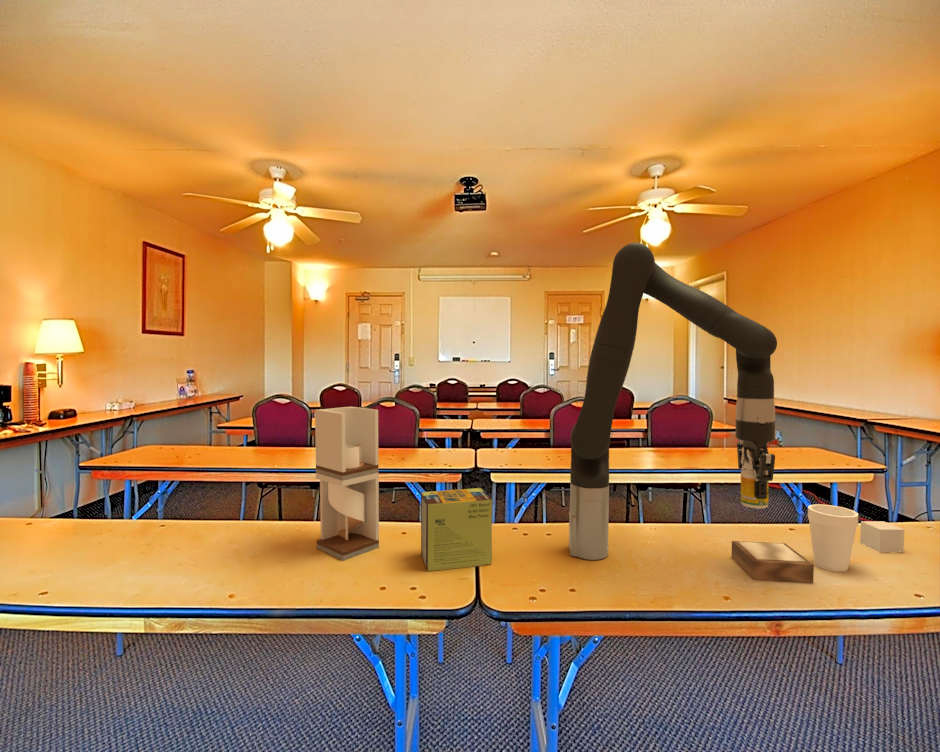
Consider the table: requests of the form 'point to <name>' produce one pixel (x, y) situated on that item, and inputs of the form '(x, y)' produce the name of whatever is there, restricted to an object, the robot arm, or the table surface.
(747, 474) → the supplement bottle
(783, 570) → the base slab
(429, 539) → the protein box
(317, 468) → the beige cubby shelf tower
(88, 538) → the table surface
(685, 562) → the table surface
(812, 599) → the table surface
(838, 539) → the foam cup
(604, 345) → the robot arm
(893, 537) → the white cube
